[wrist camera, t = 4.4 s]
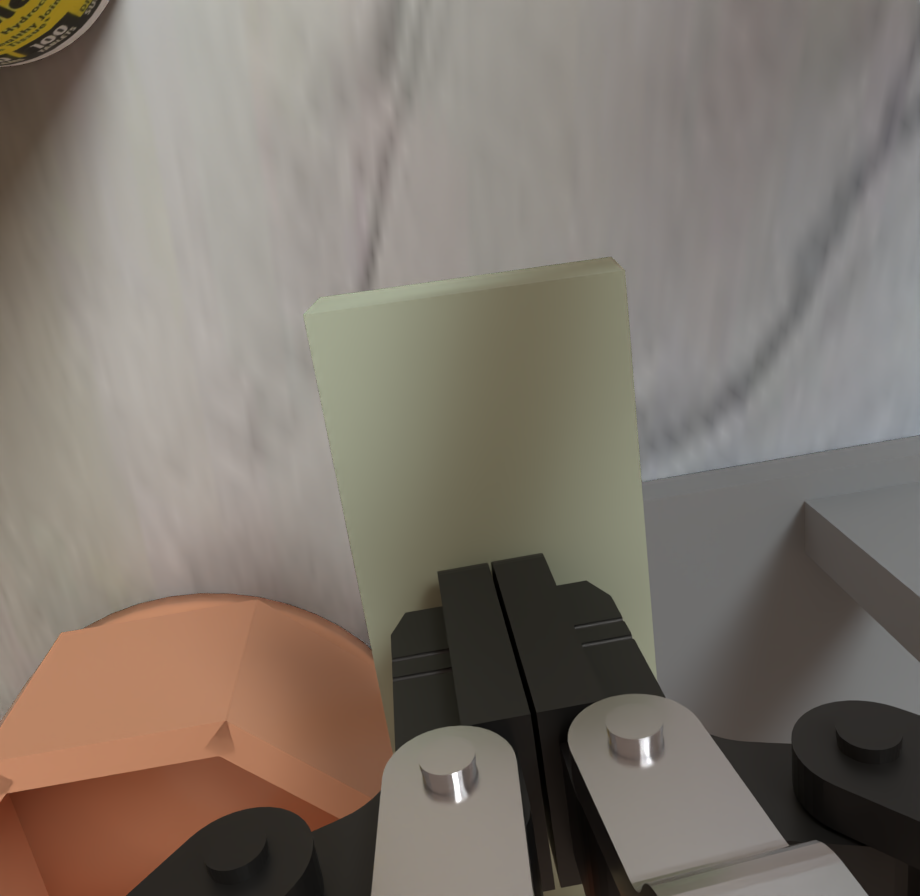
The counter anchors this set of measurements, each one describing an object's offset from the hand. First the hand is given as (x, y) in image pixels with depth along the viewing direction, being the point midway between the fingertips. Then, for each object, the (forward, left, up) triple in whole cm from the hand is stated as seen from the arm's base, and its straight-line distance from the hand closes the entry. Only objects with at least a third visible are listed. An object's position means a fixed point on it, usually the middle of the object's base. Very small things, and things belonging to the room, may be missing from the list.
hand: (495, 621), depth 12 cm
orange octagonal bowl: (+10, -8, -11) cm, 16 cm away
